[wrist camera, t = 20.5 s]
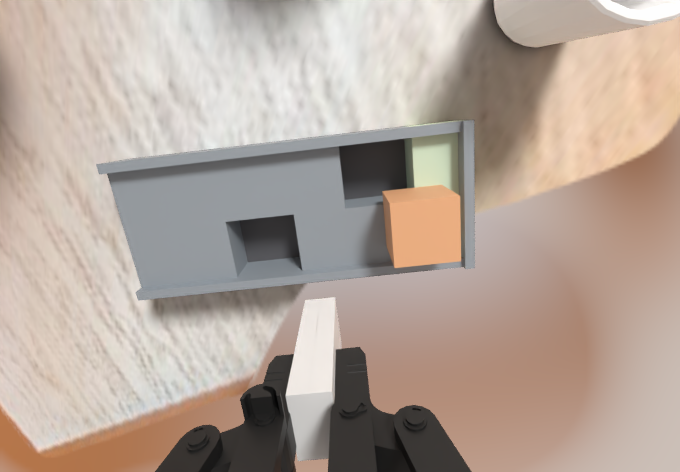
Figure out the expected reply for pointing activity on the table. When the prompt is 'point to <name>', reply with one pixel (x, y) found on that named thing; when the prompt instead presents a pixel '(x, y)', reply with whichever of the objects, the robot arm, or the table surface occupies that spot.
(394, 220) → the block
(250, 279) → the box
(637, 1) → the cup
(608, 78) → the table surface
